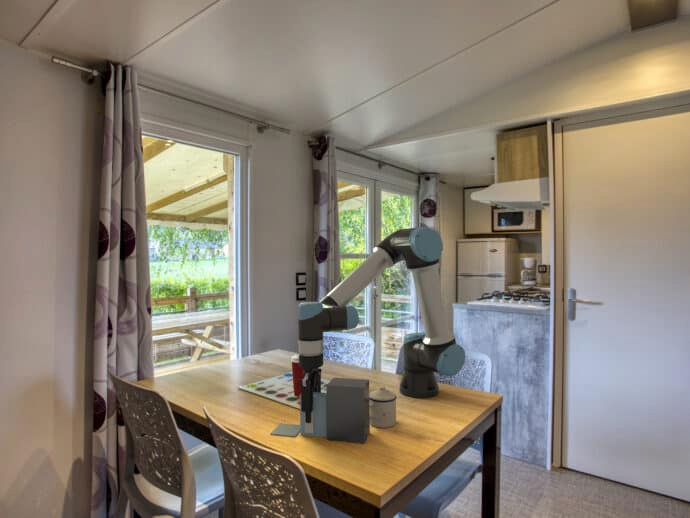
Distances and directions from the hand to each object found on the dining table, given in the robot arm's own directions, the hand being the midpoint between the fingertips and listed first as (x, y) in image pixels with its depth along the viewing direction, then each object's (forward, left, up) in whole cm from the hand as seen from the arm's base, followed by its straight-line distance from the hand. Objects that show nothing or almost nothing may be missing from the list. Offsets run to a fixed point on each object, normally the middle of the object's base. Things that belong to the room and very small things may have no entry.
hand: (312, 428), depth 128 cm
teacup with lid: (-19, -11, -1) cm, 22 cm away
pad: (+8, 0, -1) cm, 8 cm away
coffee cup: (+15, -32, -1) cm, 35 cm away
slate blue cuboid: (-4, 0, -1) cm, 4 cm away
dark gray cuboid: (-11, 0, -1) cm, 11 cm away
